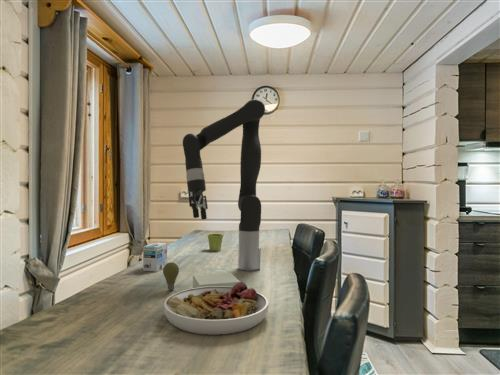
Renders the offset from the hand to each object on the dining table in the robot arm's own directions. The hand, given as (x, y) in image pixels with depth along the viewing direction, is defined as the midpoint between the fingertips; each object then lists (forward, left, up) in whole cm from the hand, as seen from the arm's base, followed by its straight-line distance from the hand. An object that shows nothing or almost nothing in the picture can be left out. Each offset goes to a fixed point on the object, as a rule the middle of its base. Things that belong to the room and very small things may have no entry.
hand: (200, 218), depth 153 cm
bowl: (+4, +47, -24) cm, 53 cm away
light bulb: (+14, +18, -24) cm, 33 cm away
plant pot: (-18, -51, -24) cm, 59 cm away
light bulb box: (+17, -16, -24) cm, 33 cm away
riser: (-1, +24, -24) cm, 34 cm away
